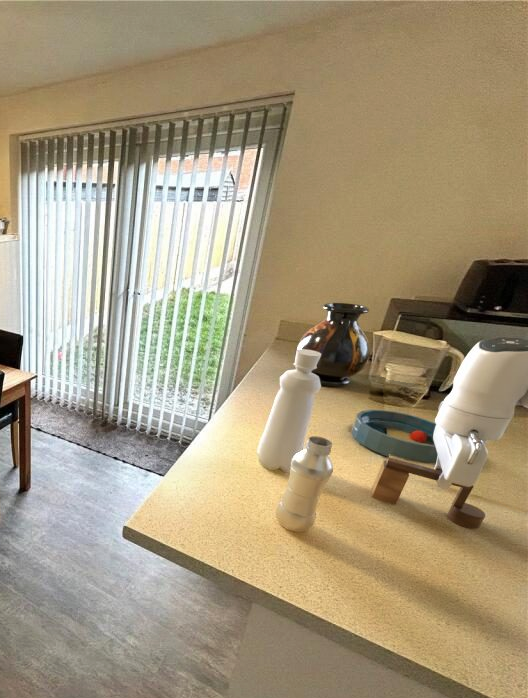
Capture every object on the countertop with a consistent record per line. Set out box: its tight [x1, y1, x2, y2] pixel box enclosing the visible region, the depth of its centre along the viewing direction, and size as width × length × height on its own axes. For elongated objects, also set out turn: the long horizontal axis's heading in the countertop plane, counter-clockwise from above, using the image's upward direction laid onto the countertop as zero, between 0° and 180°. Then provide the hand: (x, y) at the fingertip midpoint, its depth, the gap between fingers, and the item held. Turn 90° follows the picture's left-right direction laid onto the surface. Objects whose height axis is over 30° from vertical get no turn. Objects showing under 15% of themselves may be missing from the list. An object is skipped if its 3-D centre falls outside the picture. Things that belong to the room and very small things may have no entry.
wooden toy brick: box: [371, 459, 410, 505], centre depth 86 cm, size 4×4×8 cm
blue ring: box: [350, 409, 438, 463], centre depth 105 cm, size 20×20×6 cm
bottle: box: [256, 349, 322, 474], centre depth 93 cm, size 9×9×30 cm
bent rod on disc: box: [385, 456, 487, 530], centre depth 82 cm, size 16×5×9 cm, turn 51°
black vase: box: [294, 302, 371, 388], centre depth 142 cm, size 22×22×28 cm
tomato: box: [409, 431, 427, 443], centre depth 105 cm, size 3×3×3 cm
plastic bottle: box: [275, 435, 334, 533], centre depth 76 cm, size 6×7×20 cm
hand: (440, 480), depth 80 cm, fingers open, 3 cm apart
